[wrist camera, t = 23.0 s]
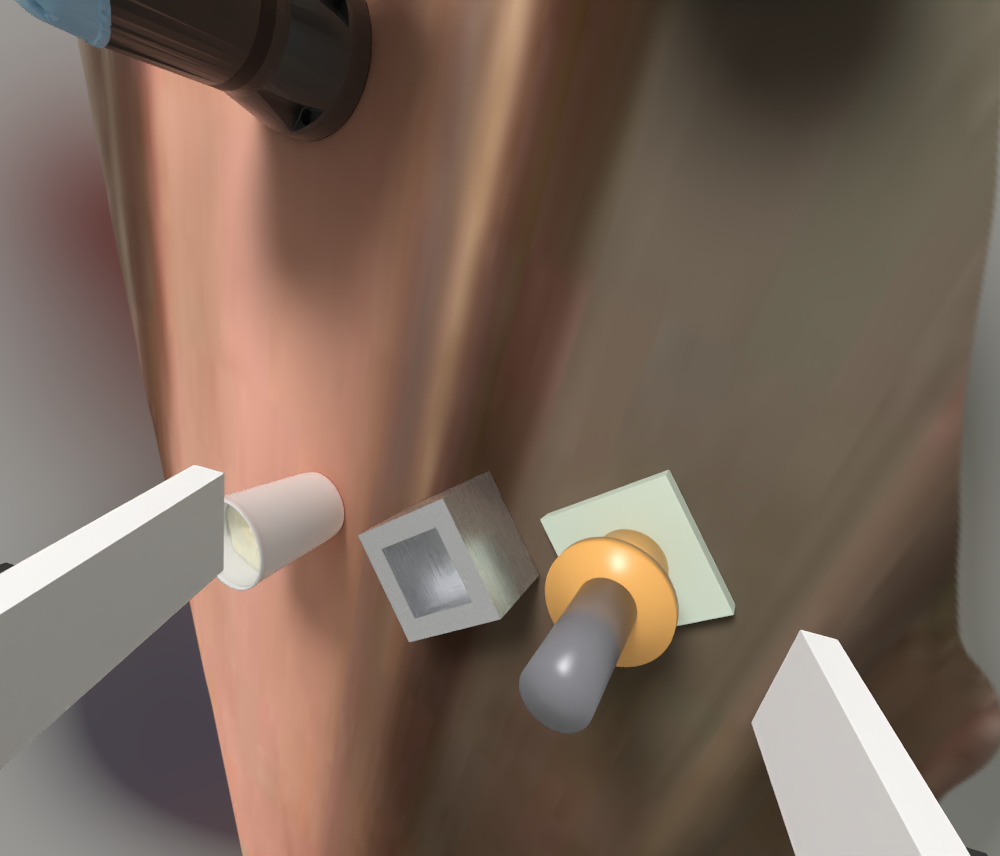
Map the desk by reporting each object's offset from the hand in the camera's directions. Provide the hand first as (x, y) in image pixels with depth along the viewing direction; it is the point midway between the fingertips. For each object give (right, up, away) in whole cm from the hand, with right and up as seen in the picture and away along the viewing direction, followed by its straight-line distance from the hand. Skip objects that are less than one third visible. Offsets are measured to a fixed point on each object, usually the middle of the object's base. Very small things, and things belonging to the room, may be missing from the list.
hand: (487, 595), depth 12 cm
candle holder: (-21, -5, +51) cm, 55 cm away
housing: (-3, -7, +41) cm, 41 cm away
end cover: (+11, -7, +32) cm, 35 cm away
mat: (+12, -7, +33) cm, 36 cm away
